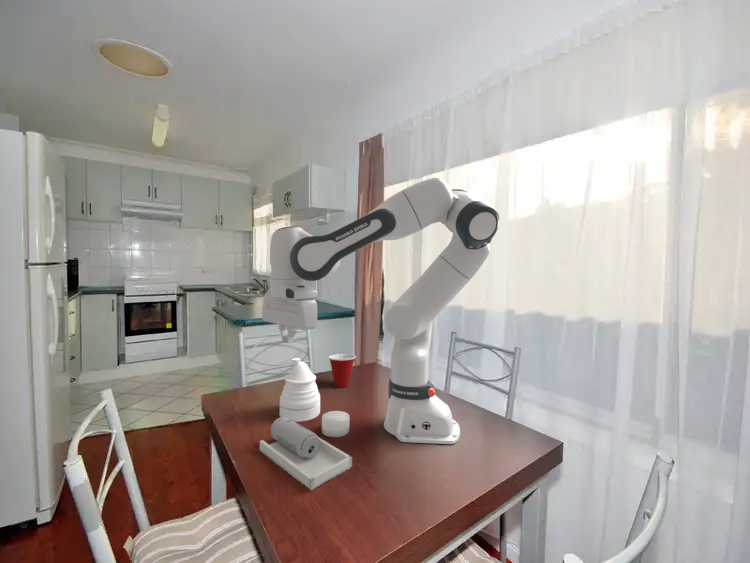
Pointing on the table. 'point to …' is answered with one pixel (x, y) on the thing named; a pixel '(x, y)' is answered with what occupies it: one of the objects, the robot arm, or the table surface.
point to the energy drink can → (295, 437)
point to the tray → (309, 462)
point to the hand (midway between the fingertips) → (287, 342)
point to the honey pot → (300, 394)
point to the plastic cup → (342, 369)
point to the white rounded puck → (335, 423)
